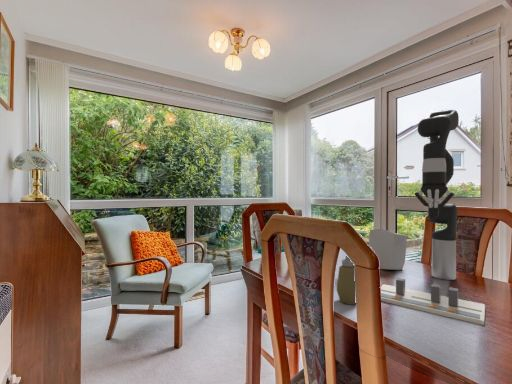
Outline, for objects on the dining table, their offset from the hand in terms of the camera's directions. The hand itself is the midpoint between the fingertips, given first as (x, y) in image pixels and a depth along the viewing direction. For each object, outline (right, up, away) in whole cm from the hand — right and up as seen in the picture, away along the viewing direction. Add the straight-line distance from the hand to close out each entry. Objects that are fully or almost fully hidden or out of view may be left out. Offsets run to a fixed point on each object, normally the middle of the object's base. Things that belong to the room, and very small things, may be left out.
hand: (433, 217), depth 106 cm
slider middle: (-5, -27, -9) cm, 29 cm away
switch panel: (-7, -29, -7) cm, 31 cm away
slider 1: (-13, -27, -2) cm, 30 cm away
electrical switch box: (+2, -29, +41) cm, 50 cm away
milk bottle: (-18, -29, +25) cm, 43 cm away
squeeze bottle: (-34, -29, -6) cm, 45 cm away
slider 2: (-1, -27, -12) cm, 30 cm away
